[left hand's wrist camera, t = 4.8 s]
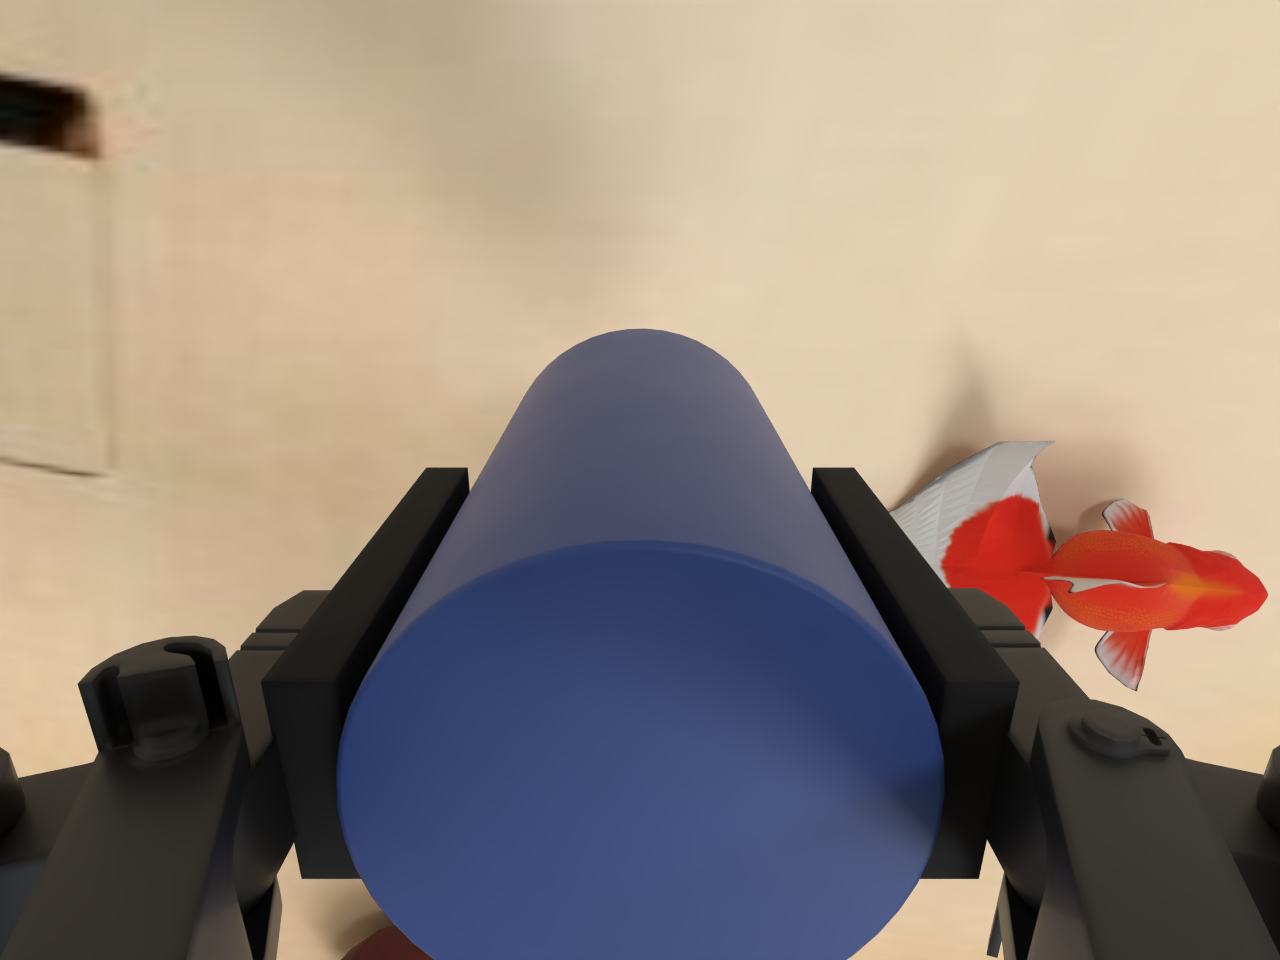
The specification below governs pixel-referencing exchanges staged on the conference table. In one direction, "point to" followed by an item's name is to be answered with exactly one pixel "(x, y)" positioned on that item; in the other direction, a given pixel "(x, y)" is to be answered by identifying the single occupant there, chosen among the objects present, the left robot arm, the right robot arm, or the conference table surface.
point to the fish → (1070, 560)
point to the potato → (387, 947)
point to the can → (640, 694)
